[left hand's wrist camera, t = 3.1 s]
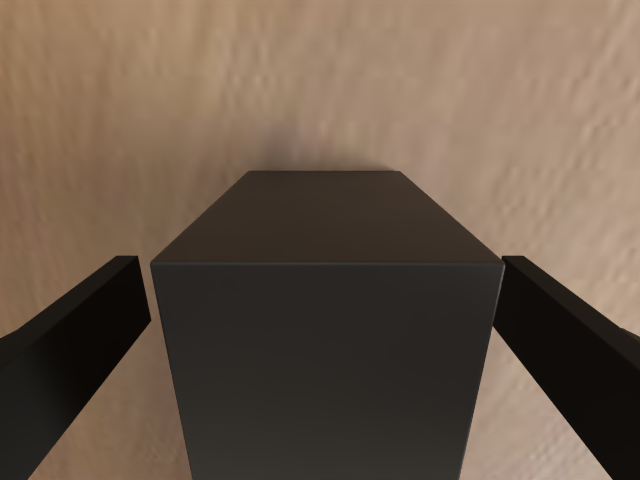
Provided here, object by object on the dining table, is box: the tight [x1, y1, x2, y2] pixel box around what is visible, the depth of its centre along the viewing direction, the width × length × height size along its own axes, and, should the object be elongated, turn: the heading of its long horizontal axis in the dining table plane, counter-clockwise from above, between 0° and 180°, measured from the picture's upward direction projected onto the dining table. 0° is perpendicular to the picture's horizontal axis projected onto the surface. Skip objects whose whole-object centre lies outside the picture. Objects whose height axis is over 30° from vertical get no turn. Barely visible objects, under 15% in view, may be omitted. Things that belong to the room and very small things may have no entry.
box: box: [150, 171, 505, 480], centre depth 14 cm, size 23×6×9 cm, turn 0°
